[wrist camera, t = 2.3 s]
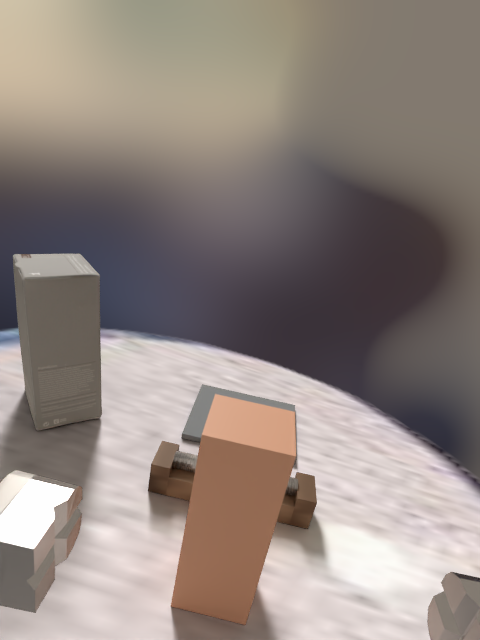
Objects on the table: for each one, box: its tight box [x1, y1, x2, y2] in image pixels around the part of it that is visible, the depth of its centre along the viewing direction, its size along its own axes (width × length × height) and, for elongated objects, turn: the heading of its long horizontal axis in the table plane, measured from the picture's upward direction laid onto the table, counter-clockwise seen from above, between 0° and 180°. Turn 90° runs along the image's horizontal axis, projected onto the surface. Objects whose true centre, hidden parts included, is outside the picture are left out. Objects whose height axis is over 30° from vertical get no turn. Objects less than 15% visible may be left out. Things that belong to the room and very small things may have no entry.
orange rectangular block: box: [171, 394, 296, 625], centre depth 24 cm, size 5×4×14 cm
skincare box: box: [13, 254, 102, 430], centre depth 39 cm, size 8×7×16 cm
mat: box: [182, 385, 296, 464], centre depth 45 cm, size 12×10×1 cm
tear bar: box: [148, 441, 317, 529], centre depth 34 cm, size 14×3×3 cm, turn 83°
